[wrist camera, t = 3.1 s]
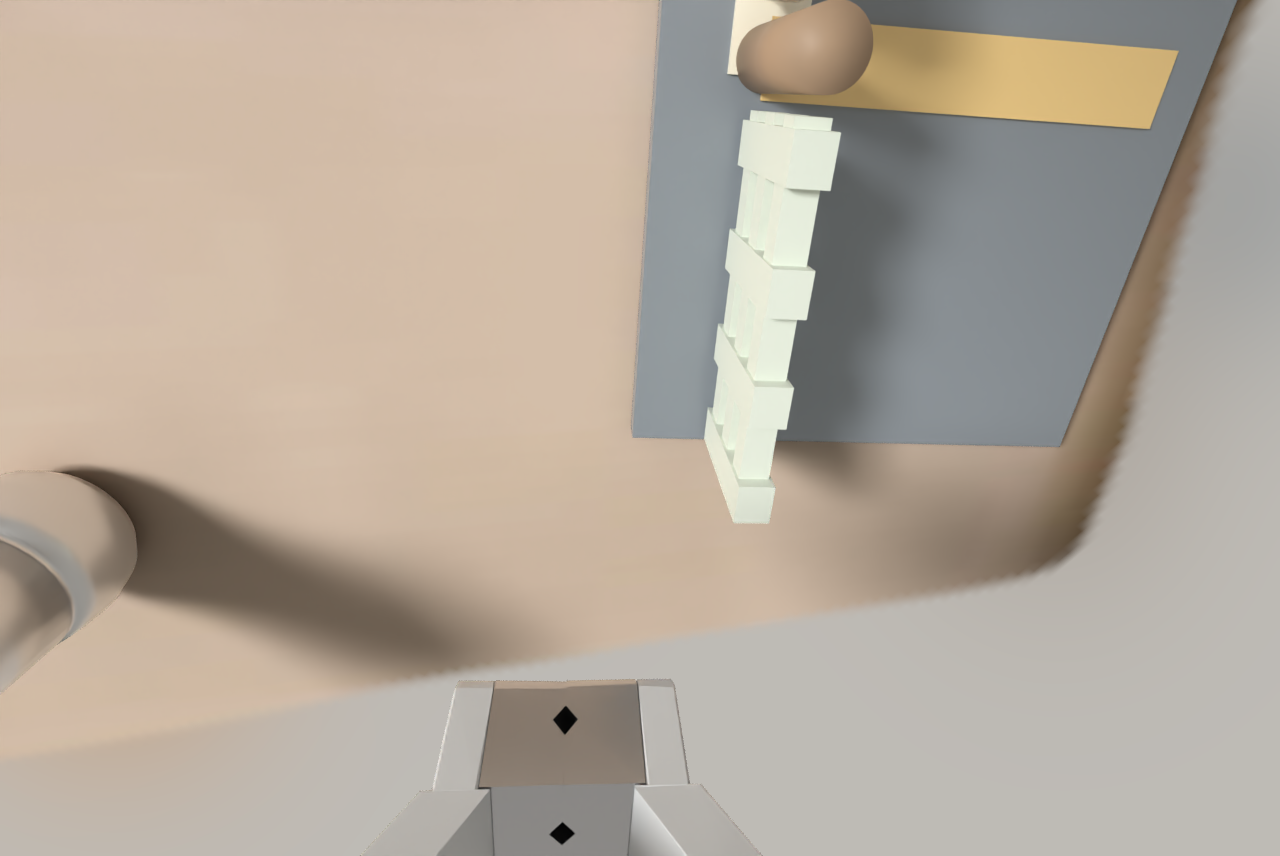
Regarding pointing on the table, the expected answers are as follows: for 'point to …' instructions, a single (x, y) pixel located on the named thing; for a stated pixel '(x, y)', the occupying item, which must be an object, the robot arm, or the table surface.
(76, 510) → the plastic bottle
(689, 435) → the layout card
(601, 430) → the table surface
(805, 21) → the fence fixed
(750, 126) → the fence hinged
